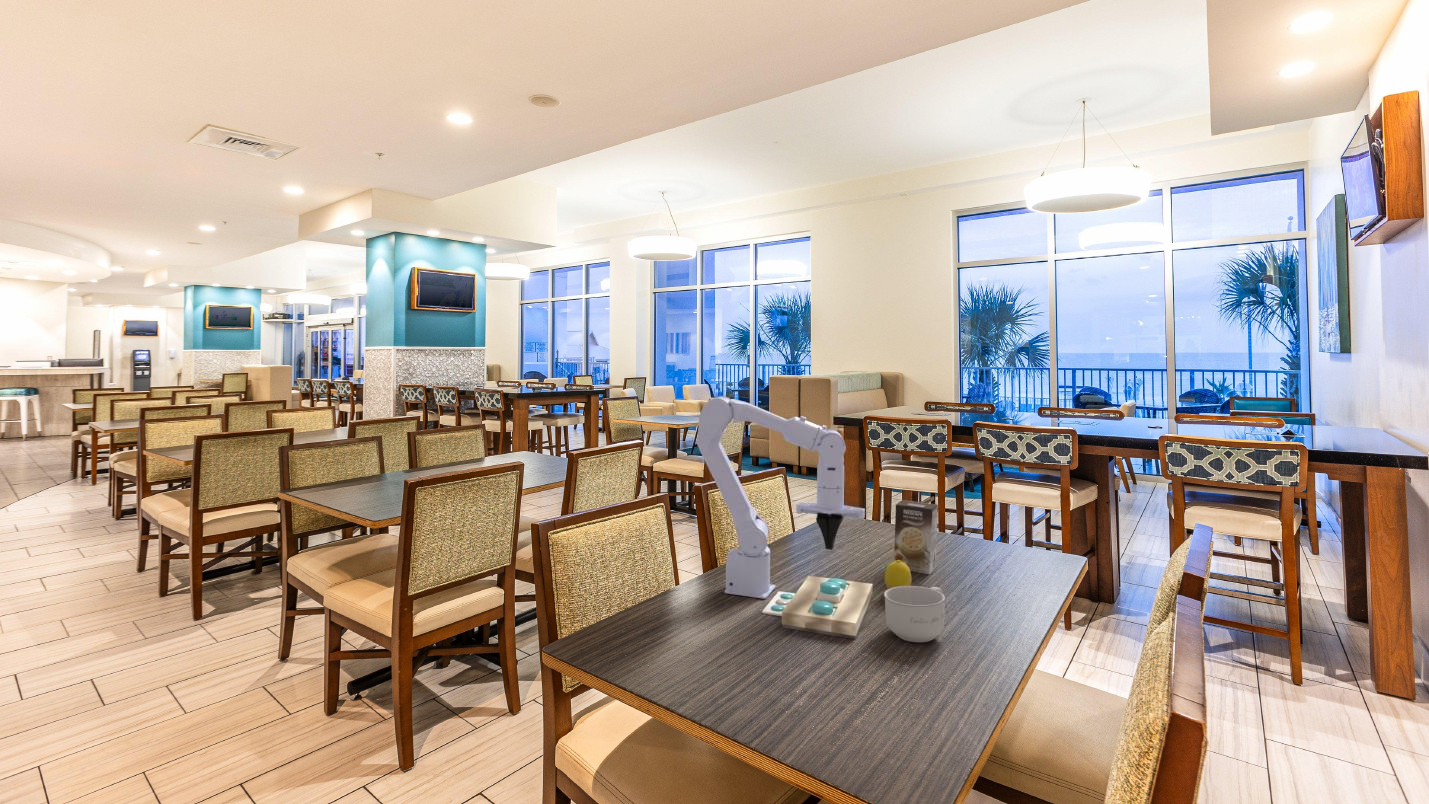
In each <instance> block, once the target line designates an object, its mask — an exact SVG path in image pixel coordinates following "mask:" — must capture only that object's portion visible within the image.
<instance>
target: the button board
mask: <svg viewBox="0 0 1429 804" xmlns="http://www.w3.org/2000/svg"><path fill="white" fill-rule="evenodd" d="M806 577H807V578H806V579H805V580H804V582H803V583H802V585H801V586H800V587H799V588H798V589H797V591H796V592H795V595H794V596H793V598H792V599H791V600H790V602H789V603H788V604H787V606H786V607H785V609H784V610H783V611H782V616H781V627H782V628H784V629H791V630H796V631H797V630H798V631H802V632H803V631H804V632H808V633H809V632H810V633H815V634H821V635H828V636H834V637H838V638H840V637H841V638H845V639H852V640H856V639H857V637H858V634H859V632H860V629H861V628H862V627H861V626H862V624H863V623H864V622H863V621H864V619H865V616H866V614H867V612H868V609H869V607H870V604H871V601H872V600H873V589H874V588H873V585H874V584H873V583H868V582H859V581H853V580H852V581H851V580H845V581H846V585H849V587H848V589H847V591H843V598H842V600H841V602H840V603H835V602H829V603H831V604H833V608H835V609H836V612H835V614H834V616H826V615H820V614H813V613H810V611H811V609H812V604H813V603H814V602H817V601H821V600H817V592H818V591H819V589H820V584H821V583H822V582H827V580H828V579H831V578H830V577H829V578H827V577H821V576H812V575H808V576H806ZM825 602H828V601H825Z"/></svg>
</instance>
